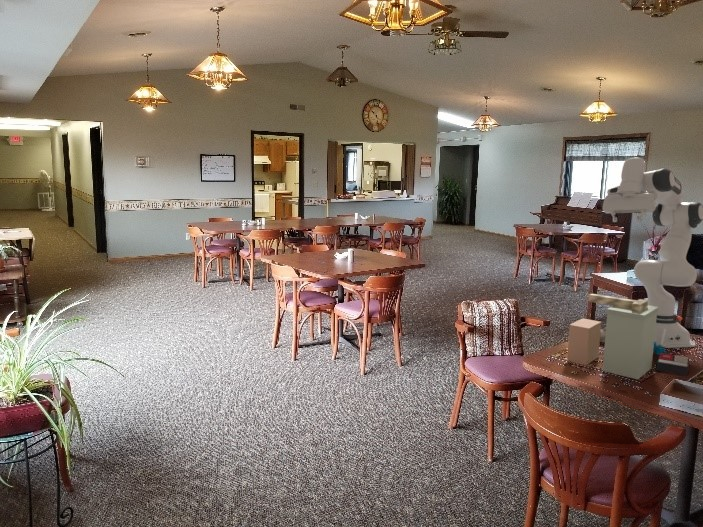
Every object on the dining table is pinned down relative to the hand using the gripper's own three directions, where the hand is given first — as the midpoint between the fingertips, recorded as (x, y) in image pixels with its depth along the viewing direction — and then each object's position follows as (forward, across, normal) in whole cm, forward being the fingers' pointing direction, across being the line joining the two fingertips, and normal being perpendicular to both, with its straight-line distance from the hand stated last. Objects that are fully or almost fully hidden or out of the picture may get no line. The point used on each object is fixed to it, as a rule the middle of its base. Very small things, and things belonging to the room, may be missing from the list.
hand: (626, 221), depth 229 cm
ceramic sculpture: (+44, +12, -42) cm, 62 cm away
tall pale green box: (+60, -3, -15) cm, 62 cm away
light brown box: (+58, +14, -15) cm, 62 cm away
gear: (+49, -7, -37) cm, 62 cm away
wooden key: (+37, +1, -2) cm, 37 cm away
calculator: (+54, -17, -29) cm, 64 cm away
